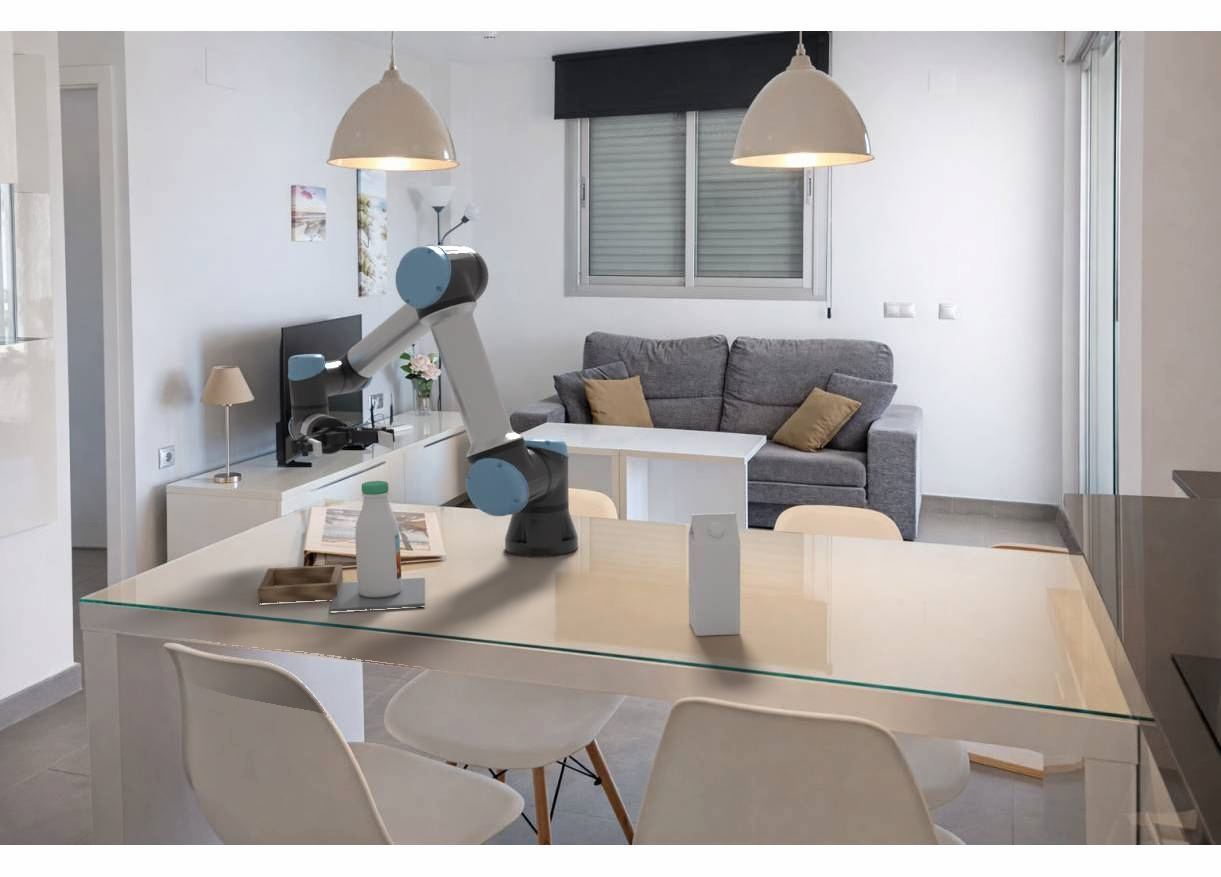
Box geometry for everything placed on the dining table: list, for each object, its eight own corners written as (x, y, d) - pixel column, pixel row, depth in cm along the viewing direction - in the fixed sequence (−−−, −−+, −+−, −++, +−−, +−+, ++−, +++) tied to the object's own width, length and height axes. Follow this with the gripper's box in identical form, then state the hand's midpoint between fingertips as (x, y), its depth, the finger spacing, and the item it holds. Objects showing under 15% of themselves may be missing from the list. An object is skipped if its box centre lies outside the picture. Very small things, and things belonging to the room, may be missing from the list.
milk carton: (688, 622, 182) (688, 509, 179) (731, 620, 183) (731, 508, 180) (695, 637, 175) (695, 519, 172) (740, 635, 176) (740, 518, 173)
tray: (342, 579, 210) (342, 564, 209) (337, 600, 197) (336, 584, 196) (269, 584, 207) (268, 568, 207) (259, 605, 194) (258, 589, 194)
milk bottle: (391, 599, 194) (386, 487, 191) (350, 597, 195) (344, 486, 192) (408, 587, 201) (403, 479, 198) (368, 585, 203) (363, 478, 200)
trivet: (424, 581, 207) (424, 577, 207) (424, 607, 192) (424, 603, 192) (337, 587, 205) (337, 582, 205) (330, 613, 189) (329, 609, 189)
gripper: (385, 445, 232) (420, 457, 213) (263, 459, 219) (290, 473, 201) (382, 409, 231) (418, 418, 212) (260, 421, 218) (286, 432, 200)
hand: (356, 445), depth 207 cm, fingers open, 13 cm apart
